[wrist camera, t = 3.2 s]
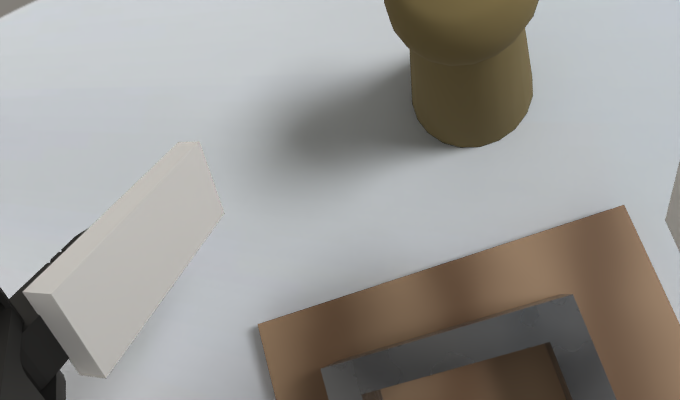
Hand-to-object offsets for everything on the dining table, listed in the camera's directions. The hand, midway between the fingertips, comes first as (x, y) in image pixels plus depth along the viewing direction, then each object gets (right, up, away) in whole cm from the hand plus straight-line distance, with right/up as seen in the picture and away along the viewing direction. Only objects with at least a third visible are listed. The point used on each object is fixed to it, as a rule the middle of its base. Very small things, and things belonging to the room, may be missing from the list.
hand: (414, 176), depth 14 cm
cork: (+5, +5, +12) cm, 13 cm away
